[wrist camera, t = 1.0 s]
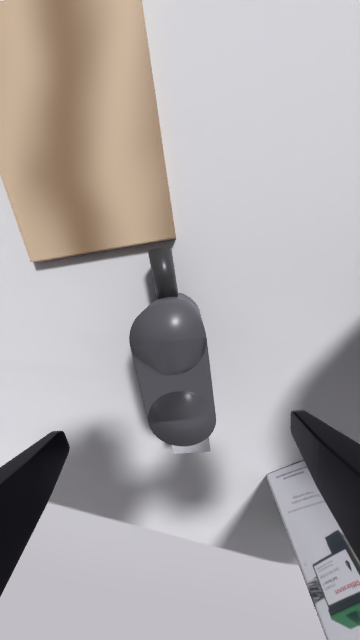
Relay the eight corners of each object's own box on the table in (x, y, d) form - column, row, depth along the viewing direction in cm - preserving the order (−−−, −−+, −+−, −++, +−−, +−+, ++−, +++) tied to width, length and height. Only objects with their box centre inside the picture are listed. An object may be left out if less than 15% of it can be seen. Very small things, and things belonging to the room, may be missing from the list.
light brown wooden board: (138, -20, 9) (135, -39, 8) (175, 238, 12) (175, 237, 12) (-41, 32, 10) (-55, 17, 9) (37, 262, 13) (30, 261, 12)
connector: (192, 247, 12) (194, 235, 8) (213, 421, 16) (222, 477, 12) (135, 256, 13) (107, 250, 8) (169, 425, 16) (162, 481, 12)
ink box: (344, 511, 18) (597, 901, 7) (297, 526, 19) (455, 894, 8) (312, 455, 17) (579, 854, 5) (261, 474, 18) (398, 851, 6)
